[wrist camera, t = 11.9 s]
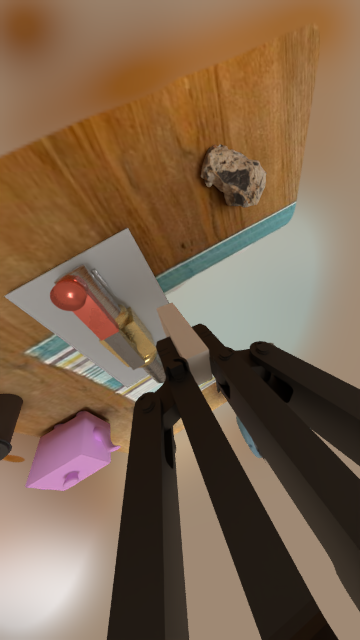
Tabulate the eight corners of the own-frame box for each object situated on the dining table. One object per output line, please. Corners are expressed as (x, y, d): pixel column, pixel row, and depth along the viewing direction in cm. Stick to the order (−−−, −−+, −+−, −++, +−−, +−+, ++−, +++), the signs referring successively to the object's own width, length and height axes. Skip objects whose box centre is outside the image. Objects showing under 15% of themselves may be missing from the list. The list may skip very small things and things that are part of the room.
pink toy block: (64, 445, 45) (52, 508, 35) (32, 435, 39) (7, 508, 29) (127, 408, 47) (132, 458, 38) (107, 394, 41) (106, 448, 31)
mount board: (126, 227, 25) (127, 228, 24) (190, 343, 43) (193, 346, 42) (9, 292, 23) (4, 296, 22) (126, 383, 42) (127, 387, 41)
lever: (143, 349, 29) (149, 368, 25) (129, 357, 29) (132, 378, 25) (78, 266, 19) (71, 278, 15) (55, 278, 19) (41, 292, 15)
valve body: (92, 256, 24) (88, 265, 19) (169, 358, 41) (177, 376, 36) (53, 278, 23) (40, 292, 19) (148, 371, 40) (153, 391, 36)
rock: (191, 217, 26) (253, 228, 24) (194, 155, 20) (278, 164, 18) (204, 195, 30) (257, 202, 29) (210, 138, 24) (279, 144, 22)
